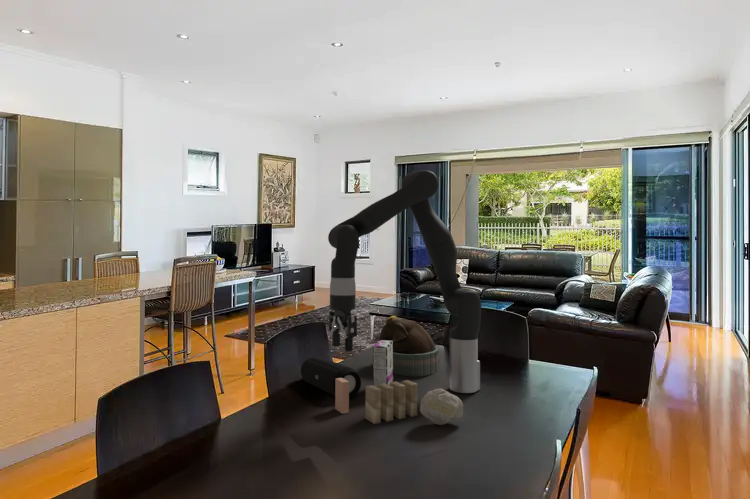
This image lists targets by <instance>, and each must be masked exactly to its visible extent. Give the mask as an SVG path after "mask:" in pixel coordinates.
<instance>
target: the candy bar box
mask: <svg viewBox="0 0 750 499" xmlns="http://www.w3.org/2000/svg"><path fill="white" fill-rule="evenodd" d="M372 352H373V353H372V363H373V364H372V365H373V366H372V369H373V373H372V374H373V378H372V379H373V382H372V383H373V386H375V387H377V388H378V384H383V383H384V384H387V385H389V386H390V382H394V374H393V341H388V340H379V341H377V343H375V344H374V345H373V347H372Z"/></svg>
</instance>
